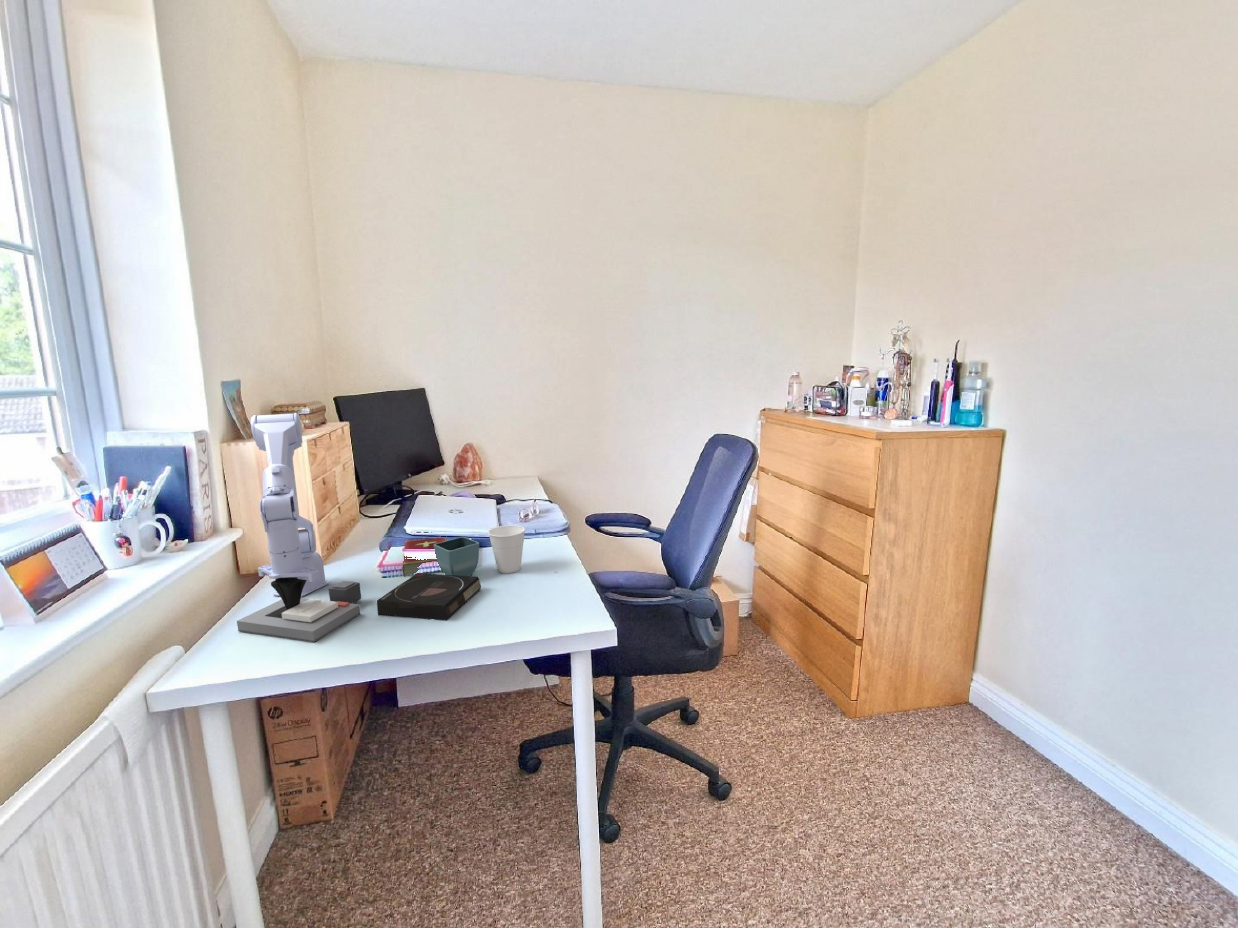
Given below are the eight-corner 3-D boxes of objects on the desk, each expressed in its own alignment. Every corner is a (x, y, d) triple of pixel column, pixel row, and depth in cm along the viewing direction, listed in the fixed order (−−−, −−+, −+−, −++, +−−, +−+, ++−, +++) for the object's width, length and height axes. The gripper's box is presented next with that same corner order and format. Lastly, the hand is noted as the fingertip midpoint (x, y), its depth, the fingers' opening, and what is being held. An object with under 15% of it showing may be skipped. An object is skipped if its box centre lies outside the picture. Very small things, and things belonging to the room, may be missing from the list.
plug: (345, 599, 132) (343, 579, 132) (361, 601, 131) (359, 581, 130) (330, 608, 128) (328, 587, 127) (347, 610, 127) (344, 588, 126)
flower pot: (435, 576, 146) (432, 543, 144) (465, 567, 152) (463, 535, 150) (451, 585, 140) (448, 551, 138) (482, 575, 146) (480, 542, 144)
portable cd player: (448, 622, 120) (447, 605, 120) (378, 617, 124) (376, 600, 123) (481, 592, 136) (480, 576, 136) (418, 588, 140) (417, 573, 139)
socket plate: (289, 605, 130) (288, 593, 129) (360, 614, 124) (359, 601, 124) (238, 631, 118) (236, 618, 117) (314, 642, 112) (312, 628, 112)
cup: (495, 563, 154) (493, 525, 152) (531, 562, 154) (528, 524, 152) (485, 576, 145) (483, 536, 143) (523, 576, 144) (521, 535, 142)
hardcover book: (403, 578, 146) (401, 563, 146) (405, 553, 166) (404, 540, 165) (450, 571, 150) (449, 556, 150) (447, 548, 170) (446, 534, 169)
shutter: (310, 603, 124) (309, 596, 124) (338, 606, 122) (337, 599, 122) (282, 618, 117) (281, 610, 117) (310, 622, 115) (309, 614, 115)
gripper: (241, 553, 117) (251, 613, 119) (296, 558, 113) (305, 620, 115) (271, 542, 123) (279, 600, 126) (323, 547, 119) (331, 606, 122)
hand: (293, 609), depth 121 cm, fingers closed
